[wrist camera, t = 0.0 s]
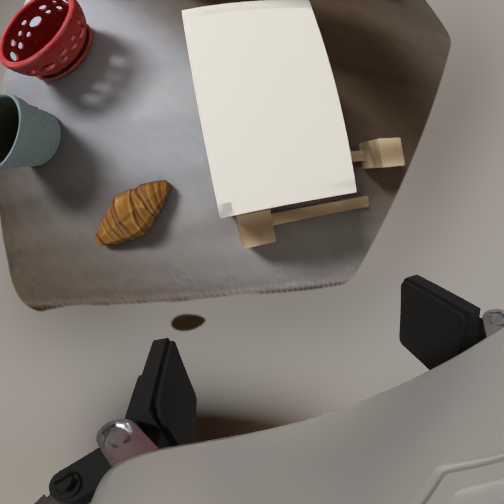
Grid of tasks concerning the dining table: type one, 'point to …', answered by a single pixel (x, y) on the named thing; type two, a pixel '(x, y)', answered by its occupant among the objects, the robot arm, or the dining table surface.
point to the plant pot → (47, 39)
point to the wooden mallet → (287, 219)
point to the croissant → (132, 213)
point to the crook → (379, 153)
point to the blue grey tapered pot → (26, 133)
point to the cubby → (267, 105)
